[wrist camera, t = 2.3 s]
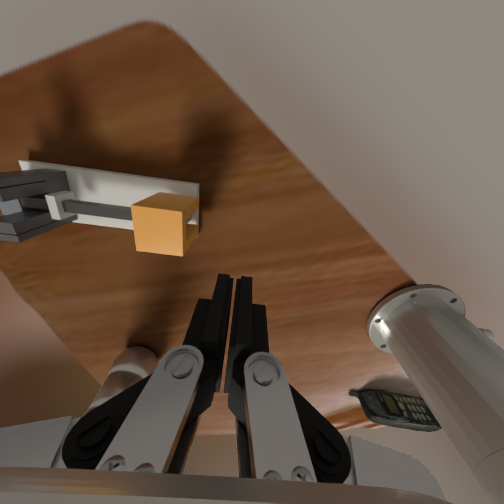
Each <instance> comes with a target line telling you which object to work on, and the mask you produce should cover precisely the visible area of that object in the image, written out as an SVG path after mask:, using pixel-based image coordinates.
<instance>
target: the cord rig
mask: <svg viewBox="0 0 504 504" xmlns="http://www.w3.org/2000/svg"><path fill="white" fill-rule="evenodd" d="M19 163H20V166H21V169H22V171H12V172H1V173H0V208H1V211H2V213H3V214H4V215H6V216H2V217H0V240H4V241H12V242H22V241H24V240H27V239H29V238H32V237H34V236H37V235H40V234H42V233H45V232H47V231H50V230H52V229H55V228H57V227H60V226H62V225H65V224H67V223H70V222H77V223H85V224H93V225H100V226H108V227H116V228H124V229H132V230H134V228H133V220H132V212H131V205H132V204H134V203H136V202H139V201H141V200H143V199H145V198H147V197H150V196H152V195H154V194H156V193H159V192H164V193H172V194H179V195H187V196H194V197H199V183H192V182H185V181H178V180H170V179H163V178H156V177H148V176H141V175H134V174H127V173H119V172H112V171H105V170H97V169H90V168H83V167H75V166H68V165H61V164H53V163H46V162H39V161H32V160H20V161H19ZM187 223H188V224H196V225H199V207H198V208H197V209H196V210H195V212H194V213H193V214H192V215H191V216H190V217H189V218H188V219H187V220H186V224H187ZM198 235H199V234H198ZM198 235H197V236H198ZM196 238H197V237H196Z"/></svg>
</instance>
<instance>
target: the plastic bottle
mask: <svg viewBox="0 0 504 504" xmlns="http://www.w3.org/2000/svg"><path fill="white" fill-rule="evenodd" d="M157 366H158V361H157V357H156V355H155V353H154V352H153V351H151V350H150V349H148V348H145V347H141V346H134V347H130V348H128V349H126V350H124V351H123V352H122V353H121V354H120V355H119V356H118V357H117V358H116V360H115V361H114V363H113V365H112V367H111V369H110V371H109V373H108V376H107V378H106V380H105V382H104V384H103V385H102V387H101V389H100V391H99V393H98V395H97V396H96V398H95V400H94V401H93V403H92V404H91V406H90V407H89V409H88V411H87V412H86V413H85V414H84V415H86V414H87V413H88V412H90V411H91V410H93V409H95V408H96V407H98V406H99V405H101V404H103V403H104V402H106V401H108V400H109V399H111V398H113V397H114V396H116V395H117V394H119V393H121V392H122V391H124V390H126V389H127V388H129V387H130V386H132V385H134V384H135V383H137V382H139V381H140V380H142V379H143V378H145V377H147V376H148V375H150V374H152V373H153V372H154V371H155V369H156V367H157Z"/></svg>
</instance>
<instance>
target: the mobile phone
mask: <svg viewBox="0 0 504 504" xmlns="http://www.w3.org/2000/svg"><path fill="white" fill-rule="evenodd" d="M348 394H349V396H355V397H357V398H358V399H359V401H360V403H361V406H362V409H363V411H364V413H365V415H366V416H367V417H368V419H370V420H371V421H372V422H375V423H379V424H382V425H387V426H392V427H398V428H405V429H411V430H416V431H426V432H432V431H437V430H439V429H441V428H442V427H441V426H440V424H439V423H438V421H437V420H436V418H435V417H434V415H433V414H432V412H431V410H430V409H429V407H428V406H427V404H426V403H425V401H424V400H423V399H422V398H417V397H411V396H406V395H400V394H395V393H391V392H387V391H383V390H368V391H363V392H362V393H356V392H349V393H348Z"/></svg>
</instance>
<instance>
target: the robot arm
mask: <svg viewBox="0 0 504 504" xmlns="http://www.w3.org/2000/svg"><path fill="white" fill-rule="evenodd" d="M229 277H230V275H226V274H218V278H217V282H216V286H215V289H214V293H213V297H212V300H210V299H200V298H199V300H198V302H197V305H196V308H195V310H194V313H193V316H192V319H191V322H190V325H189V328H188V330H187V333H186V336H185V339H184V342H183V345H181V346H177V347H175V348H172V349H171V350H170V351H168V352H167V353H166V354H165V355H164V356H163V358H162V359H161V361H160V362H159V364H158V366H157V367H156V369H155V371H154V372H153V373H152V374H150V375H148V376H147V377H145V378H143V379H142V380H140V381H139V382H137V383H135V384H134V385H132V386H130V387H129V388H127V389H126V390H124V391H122V392H121V393H119V394H117V395H116V396H114V397H113V398H111V399H109V400H108V401H106V402H104V403H103V404H101V405H99V406H98V407H96V408H95V409H93V410H91V411H90V412H88V413H87V414H86V415H84V416H83V417H80V418H75V419H74V418H73V416H68V417H62V418H56V419H51V420H45V421H39V422H33V423H28V424H22V425H16V426H11V427H5V428H0V504H452V503H449V502H447V501H446V500H445V497H444V495H443V492H442V490H441V488H440V486H439V484H438V483H437V480H436V479H435V477H434V476H433V475H432V474H431V473H430V471H429V470H428V469H427V468H426V467H425V466H424V465H423V464H422V463H421V462H420V461H419V460H417V459H415V458H413V457H411V456H409V455H406V454H403V453H400V452H397V451H395V450H392V449H389V448H386V447H383V446H380V445H378V444H375V443H372V442H369V441H366V440H363V439H360V438H358V437H355V436H351V435H350V436H349V438H348V437H346V436H342V435H341V434H340V433H339V432H338V430H337V429H336V428H335V427H334V426H333V425H332V424H331V423H330V422H329V421H328V420H326V419H325V418H324V417H323V416H322V415H321V414H320V413H319V412H318V411H317V410H316V409H315V408H314V407H313V406H312V405H311V404H310V403H309V402H308V401H307V400H306V399H305V398H304V397H303V396H302V395H301V394H299V393H298V392H297V391H296V390H295V389H294V388H293V387H292V386H291V385H290V384H289V383H288V380H287V377H286V373H285V370H284V367H283V365H282V363H281V362H280V360H279V359H278V358H277V357H275V356H274V355H272V354H270V353H269V344H268V332H267V319H266V307H265V305H259V304H252V277H245V276H241V279H237V282H236V291H235V299H234V308H233V316H232V325H231V333H230V342H229V350H228V359H227V368H226V376H225V385H224V393H229V396H228V407H229V409H230V410H231V411H232V412H233V414H234V415H235V416H236V417H235V424H236V440H237V454H238V470H239V478H237V477H219V476H202V475H183V471H184V468H185V465H186V462H187V459H188V456H189V453H190V450H191V447H192V443H193V440H194V437H195V434H196V431H197V428H198V425H199V422H200V419H201V414H202V413H203V412H204V411H205V410H206V409H207V408H209V407H210V406H211V403H212V401H213V397H214V392H219V391H220V384H221V376H222V369H223V362H224V354H225V347H226V339H227V332H228V324H229V316H230V307H231V297H232V288H233V278H229ZM367 333H368V335H369V337H370V339H371V341H372V342H373V344H374V345H375V346H376V347H377V348H379V349H380V350H382V351H384V352H387V353H391V354H394V356H395V357H396V359H397V360H398V362H399V363H400V365H401V367H402V368H403V370H404V371H405V373H406V374H407V376H408V377H409V379H410V380H411V382H412V383H413V385H414V386H415V388H416V389H417V391H418V392H419V394H420V395H421V397H422V398H423V400H424V401H425V403H426V404H427V406H428V407H429V409H430V410H431V412H432V414H433V415H434V417H435V418H436V420H437V421H438V423H439V424H440V426H441V427H442V429H443V430H444V432H445V433H446V435H447V436H448V438H449V439H450V441H451V442H452V443H453V445H454V447H455V448H456V450H457V451H458V453H459V454H460V456H461V457H462V459H463V461H464V462H465V464H466V465H467V467H468V468H469V470H470V471H471V473H472V474H473V476H474V477H475V479H476V480H477V482H478V483H479V485H480V486H481V488H482V489H483V491H484V492H485V494H486V495H487V497H488V498H489V500H490V501H491V502H492V504H504V350H503V349H502V348H501V347H500V346H498V345H497V344H496V343H495V342H493V341H492V339H493V338H494V334H493V333H492V331H490V330H488V329H480V328H477V327H476V326H474V325H473V324H472V323H471V322H469V321H468V320H467V319H466V318H465V306H464V303H463V301H462V300H461V298H460V297H459V296H457V295H456V294H455V293H454V292H452V291H451V290H449V289H447V288H445V287H442V286H439V285H431V284H424V285H416V286H410V287H407V288H404V289H401V290H399V291H397V292H394V293H392V294H391V295H389V296H388V297H386V298H385V299H383V300H382V301H381V302H380V303H379V304H378V305H377V306H376V307H375V308H374V309H373V311H372V312H371V314H370V316H369V318H368V321H367Z"/></svg>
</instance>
